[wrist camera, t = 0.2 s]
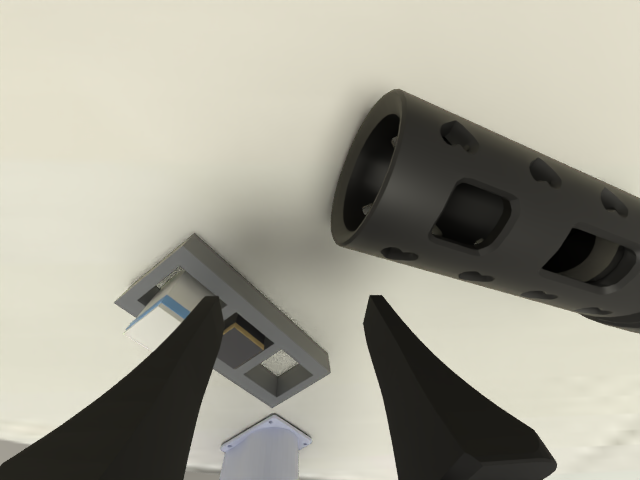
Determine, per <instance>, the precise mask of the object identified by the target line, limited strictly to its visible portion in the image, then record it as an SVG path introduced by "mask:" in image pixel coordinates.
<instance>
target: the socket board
mask: <svg viewBox="0 0 640 480" xmlns="http://www.w3.org/2000/svg"><path fill="white" fill-rule="evenodd" d="M179 266H180V267H182V268H183V269H184V270H185V271H186V272H188V273H189V274H190V275H191V276H193V277H194V278H195V279H196V280H197V281H199V282H200V283H201V284H202V285H204V286H205V287H206V288H207V289H208V290H210V291H211V292H212V293H213V294H215V295H216V296H219V298H220V304H221V309H222V314H223V319H224V324H225V327H224V332H223V337H222V341H221V346H220V349H219V352H218V355H217V358H216V361H215V364H214V367H213V369H214V370H216V371H217V372H219V373H220V374H222V375H223V376H225V377H226V378H228V379H229V380H231V381H232V382H234V383H235V384H237V385H238V386H240V387H241V388H243V389H244V390H246V391H247V392H249V393H250V394H252V395H253V396H255V397H256V398H258V399H259V400H261V401H262V402H264V403H265V404H267V405H268V406H270V407H271V408H273V407H275V406H277V405H278V404H280V403H282V402H283V401H285V400H287V399H288V398H290V397H292V396H293V395H295V394H297V393H298V392H300V391H302V390H303V389H305V388H307V387H308V386H310V385H312V384H313V383H315V382H317V381H318V380H320V379H322V378H323V377H325V376H327V375H328V374H330V373H331V371H330V364H329V358H328V354H327V353H326V352H325V351H324V350H323V349H322V348H321V347H320V346H319V345H317V344H316V343H315V342H314V341H313V340H312V339H311V338H310V337H309V336H308V335H306V334H305V333H304V332H303V331H302V330H301V329H300V328H299V327H298V326H296V325H295V324H294V323H293V322H292V321H291V320H290V319H289V318H288V317H286V316H285V315H284V314H283V313H282V312H281V311H280V310H279V309H278V308H276V307H275V306H274V305H273V304H272V303H271V302H270V301H269V300H268V299H267V298H265V297H264V296H263V295H262V294H261V293H260V292H259V291H258V290H257V289H255V288H254V287H253V286H252V285H251V284H250V283H249V282H248V281H247V280H245V279H244V278H243V277H242V276H241V275H240V274H239V273H238V272H237V271H235V270H234V269H233V268H232V267H231V266H230V265H229V264H228V263H227V262H226V261H224V260H223V259H222V258H221V257H220V256H219V255H218V254H217V253H216V252H214V251H213V250H212V249H211V248H210V247H209V246H208V245H207V244H206V243H204V242H203V241H202V240H201V239H200V238H199V237H198V236H197V235H196V234H193V235H192V236H191V237H189V238H188V239H187V240H186V241H185V242H183V243H182V244H181V245H180V246H179V247H177V248H176V249H175V250H174V251H173V252H171V253H170V254H169V255H168V256H167V257H165V258H164V259H163V260H162V261H161V262H159V263H158V264H157V265H156V266H155V267H153V268H152V269H151V270H150V271H149V272H147V273H146V274H145V275H144V276H143V277H141V278H140V279H139V280H138V281H136V282H135V283H134V284H133V285H132V286H131V287H130V288H129V289H128V290H126V291H125V292H124V293H123V294H122V295H121V296H120V297H119V298H118V299H117V300H116V301H115V302H114V303H115V304H116V305H118V306H119V307H121V308H122V309H124V310H125V311H127V312H128V313H130V314H131V315H133V316H134V317H136V318H137V317H138V315H139V314H140V313H141V312H142V310H143V309H144V308H145V307H146V306H147V304H148V303H149V302H150V301H151V300H152V298H153V297H154V296H155V295H156V294H157V292H158V291H159V290H160V289H159V288H158V287H156V286H155V285H157V284H158V283H159V282H160V281H162V280H163V279H164V278H165V277H167V276H168V275H169V274H170V273H172V272H173V271H174V270H175V269H177V268H178V267H179ZM281 349H282V350H283V351H284V352H286V353H287V354H288V355H289V356H291V357H292V358H293V359H294V360H295V361H297V362H298V363H299V364H298V365H297V366H295V367H293V368H292V369H290V370H289V371H287V372H285V373H284V374H282V375H281V376H279V377H277V376H276V375H274V374H273V373H272V372H270V371H269V370H268V369H266V368H265V367H264V366H262V365H261V364H260V363H261V362H263V361H264V360H266V359H267V358H269V357H270V356H272V355H274V354H275V353H277V352H278V351H280V350H281Z"/></svg>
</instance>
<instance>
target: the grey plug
mask: <svg viewBox="0 0 640 480" xmlns="http://www.w3.org/2000/svg"><path fill="white" fill-rule="evenodd" d="M205 296H216V295H215V294H213V293H212V292H211V291H210V290H208V289H207V288H206V287H205V286H204V285H202V284H201V283H200V282H199V281H197V280H196V279H195V278H194V277H193V276H191V275H190V274H189V273H188V272H186V271H185V270H184V269H183V270H181V271H180V272H179V273H178V274H176V275H175V276H174V277H173V278H171V279H170V280H169V281H168V282H166V283H165V284H164V285H163V286H162V288H161V289H160V290H159V291H158V292H157V294H156V295H155V296H154V297H153V298H152V300H151V301H150V302H149V303H148V304H147V306H146V307H145V308H144V309H143V310H142V312H141V313H140V314H139V315H138V317H137V318H136V319H135V320H134V321H132V322H131V324H130V325H129V326H128V327H127V328H126V331H125V332H124V333H123V334H124V335H125V336H127V337H128V338H130V339H132V340H133V341H135V342H136V343H138V344H140V345H141V346H143V347H145V348H146V349H148V350H149V351H151V352H153V351H154V350H155V349H156V348H157V347H158V346H159V345H160V344H161V343H162V342H163V341H164V340H165V339H166V338H167V337H168V336H169V335H170V334H171V333H172V332H173V331H174V330H175V329H176V328H177V327H178V326H179V325H180V324H181V323H182V321H183V320H184V319H185V318H186V317H187V316H188V315H189V314H190V312H191V311H192V310H193V309H194V308H195V307H196V306H197V304H198V303H199V302H200V301H201V300H202V299H203V298H204V297H205Z"/></svg>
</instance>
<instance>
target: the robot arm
mask: <svg viewBox="0 0 640 480" xmlns="http://www.w3.org/2000/svg"><path fill="white" fill-rule="evenodd" d="M363 325H364V331H365V337H366V342H367V346H368V349H369V353H370V356H371V359H372V363H373V366H374V369H375V373H376V376H377V379H378V382H379V386H380V389H381V393H382V396H383V400H384V405H385V410H386V415H387V419H388V424H389V430H390V435H391V440H392V445H393V451H394V456H395V462H396V468H397V474H398V480H543V479H544V478H546V477H547V476H549V475H551V474H552V473H553V472H554V471H555V470H556V468H557V463H556V461H555V459H554V458H553V456H552V455H551V453H550V452H549V451H548V449H547V448H546V446H545V445H544V443H543V442H542V440H541V439H540V437H539V436H538V435H537V433H536V432H535V431H534V430H533V429H532V428H530V427H529V426H527V425H526V424H524V423H523V422H521V421H520V420H518V419H517V418H515V417H513V416H512V415H510V414H509V413H507V412H506V411H504V410H503V409H501V408H500V407H498V406H497V405H496V404H494V403H493V402H492V401H490V400H489V399H487V398H486V397H485V396H483V395H482V394H481V393H479V392H478V391H477V390H475V389H474V388H473V387H471V386H470V385H469V384H468V383H466V382H465V381H464V380H463V379H461V378H460V377H459V376H458V375H457V374H455V373H454V372H453V371H452V370H451V369H449V368H448V367H447V366H446V365H445V364H444V363H443V362H442V361H441V360H440V359H438V358H437V357H436V356H435V355H434V354H433V353H432V352H431V351H430V350H429V349H428V348H427V347H426V346H425V345H424V344H423V343H422V342H421V341H420V340H419V339H418V337H417V336H416V335H415V334H414V333H413V332H412V331H411V330H410V329H409V327H408V326H407V325H406V324H405V323H404V322H403V321H402V319H401V318H400V317H399V316H398V315H397V313H396V312H395V311H394V310H393V308H392V307H391V306H390V305H389V303H388V302H387V301H386V300H385V298H384V297H383V296H382V295H370V296H369V300H368V305H367V309H366V313H365V318H364V322H363ZM224 327H225V324H224V319H223V314H222V309H221V304H220V299H219V296H205V297H204V298H203V299H202V300H201V301H200V302H199V303H198V304H197V306H196V307H195V308H194V309H193V310H192V311H191V312H190V314H189V315H188V316H187V317H186V318H185V319H184V320H183V321H182V323H181V324H180V325H179V326H178V327H177V328H176V329H175V330H174V331H173V332H172V333H171V334H170V335H169V336H168V337H167V338H166V339H165V340H164V341H163V342H162V343H161V344H160V345H159V346H158V347H157V348H156V349H155V350H154V351H153V352H152V353H151V354H150V355H149V356H148V357H147V358H146V359H145V360H144V361H143V362H141V363H140V364H139V365H138V366H137V367H136V368H135V369H134V370H132V371H131V372H130V373H129V374H128V375H127V376H125V377H124V378H123V379H122V380H121V381H119V382H118V383H117V384H116V385H114V386H113V387H112V388H111V389H110V390H108V391H107V392H106V393H104V394H103V395H102V396H101V397H99V398H98V399H97V400H95V401H94V402H93V403H91V404H90V405H89V406H87V407H86V408H84V409H83V410H82V411H80V412H79V413H78V414H76V415H75V416H73V417H72V418H71V419H69V420H68V421H66V422H65V423H64V424H62V425H61V426H59V427H58V428H56V429H55V430H53V431H52V432H50V433H49V434H47V435H46V436H44V437H43V438H41V439H40V440H38V441H37V442H35V443H34V444H32V445H30V446H29V447H28V448H26V449H24V450H23V451H21V452H20V453H18V454H17V455H15V456H14V457H12V458H10V459H9V460H7V461H6V462H4V463H3V464H2V465H1V466H0V480H183V479H184V474H185V469H186V464H187V460H188V455H189V451H190V447H191V442H192V438H193V434H194V430H195V426H196V421H197V417H198V413H199V409H200V406H201V403H202V399H203V396H204V393H205V390H206V387H207V384H208V381H209V379H210V376H211V373H212V370H213V367H214V364H215V361H216V358H217V355H218V352H219V349H220V346H221V341H222V337H223V332H224ZM311 443H312V439H311V438H310V437H309V436H307V435H306V434H304V433H303V432H301V431H299V430H298V429H296V428H295V427H293V426H292V425H290V424H289V423H287V422H286V421H284V420H283V419H281V418H280V417H278V416H277V415H272V416H270V417H268V418H267V419H265V420H263V421H262V422H260V423H258V424H256V425H255V426H253V427H251V428H250V429H248V430H246V431H245V432H243V433H241V434H240V435H238V436H236V437H235V438H233V439H231V440H230V441H228V442H226V443H224V444H223V445H222V446H221V451H223V452H225V455H224V460H223V465H222V469H221V474H220V479H219V480H299V456H298V450H300V449H302V448H304V447H306V446H307V445H309V444H311Z"/></svg>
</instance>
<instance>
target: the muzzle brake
mask: <svg viewBox="0 0 640 480" xmlns="http://www.w3.org/2000/svg"><path fill="white" fill-rule="evenodd" d="M396 136H397V141H396V145H395V144H394V141H393V139H392V138H394V137H396ZM369 205H371V206H372V207H371V208H370V210H369V212H368V214H367V215H364V213H363V211H362V208H364V207H367V206H369ZM331 232H332V236H333V239H334V241H335V243H336V244H337V245H339V246H341V247H344V248H348V249H351V250H355V251H359V252H362V253H366V254H369V255H373V256H376V257H380V258H384V259H387V260H391V261H394V262H398V263H401V264H405V265H408V266H412V267H416V268H419V269H423V270H426V271H430V272H433V273H437V274H441V275H444V276H448V277H451V278H455V279H458V280H462V281H465V282H469V283H473V284H476V285H480V286H483V287H487V288H490V289H494V290H498V291H501V292H505V293H508V294H512V295H515V296H519V297H522V298H526V299H530V300H533V301H537V302H540V303H544V304H547V305H551V306H555V307H558V308H562V309H565V310H569V311H572V312H576V313H579V314H581V315H582V316H584V317H586V318H588V319H591V320H593V321H596V322H599V323H602V324H605V325H609V326H612V327H616V328H619V329H623V330H627V331H630V332H635V333H640V198H638V197H636V196H634V195H632V194H629V193H627V192H625V191H623V190H621V189H618V188H616V187H614V186H612V185H610V184H607V183H605V182H603V181H601V180H599V179H596V178H594V177H592V176H590V175H588V174H585V173H583V172H581V171H579V170H577V169H574V168H572V167H570V166H568V165H566V164H563V163H561V162H559V161H557V160H555V159H552V158H550V157H548V156H546V155H543V154H541V153H539V152H537V151H535V150H532V149H530V148H528V147H526V146H524V145H521V144H519V143H517V142H515V141H513V140H510V139H508V138H506V137H504V136H502V135H499V134H497V133H495V132H493V131H491V130H488V129H486V128H484V127H482V126H480V125H477V124H475V123H473V122H471V121H469V120H466V119H464V118H462V117H460V116H458V115H455V114H453V113H451V112H449V111H446V110H444V109H442V108H440V107H438V106H435V105H433V104H431V103H429V102H427V101H424V100H422V99H420V98H418V97H416V96H413V95H411V94H409V93H407V92H405V91H402V90H400V89H394V90H392V91H390V92H388V93H387V94H385V95H384V96H383V97H382V98H381V99H380V100H379V101H378V102H377V103H376V104H375V105H374V107H373V108H372V109H371V111H370V112H369V114H368V115H367V117H366V118H365V120H364V122H363V124H362V125H361V127H360V129H359V131H358V133H357V135H356V137H355V139H354V141H353V143H352V146H351V148H350V150H349V153H348V155H347V158H346V161H345V164H344V166H343V169H342V172H341V174H340V178H339V181H338V184H337V188H336V192H335V196H334V201H333V207H332V214H331ZM432 233H433V234H432ZM475 242H476V243H477V244H475V245H474V243H475Z"/></svg>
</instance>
